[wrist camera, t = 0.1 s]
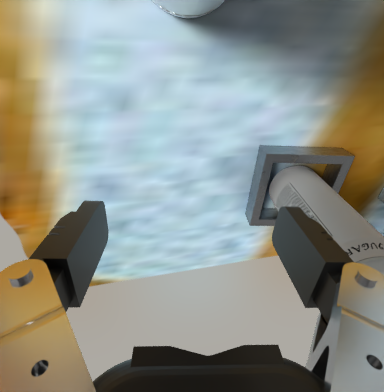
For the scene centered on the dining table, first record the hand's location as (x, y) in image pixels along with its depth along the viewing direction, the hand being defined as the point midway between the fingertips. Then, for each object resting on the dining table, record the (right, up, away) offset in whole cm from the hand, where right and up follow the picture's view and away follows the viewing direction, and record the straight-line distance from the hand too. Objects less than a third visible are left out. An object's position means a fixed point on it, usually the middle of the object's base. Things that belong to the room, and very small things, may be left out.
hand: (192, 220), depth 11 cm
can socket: (+13, +3, +19) cm, 23 cm away
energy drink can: (+13, +3, +20) cm, 24 cm away
